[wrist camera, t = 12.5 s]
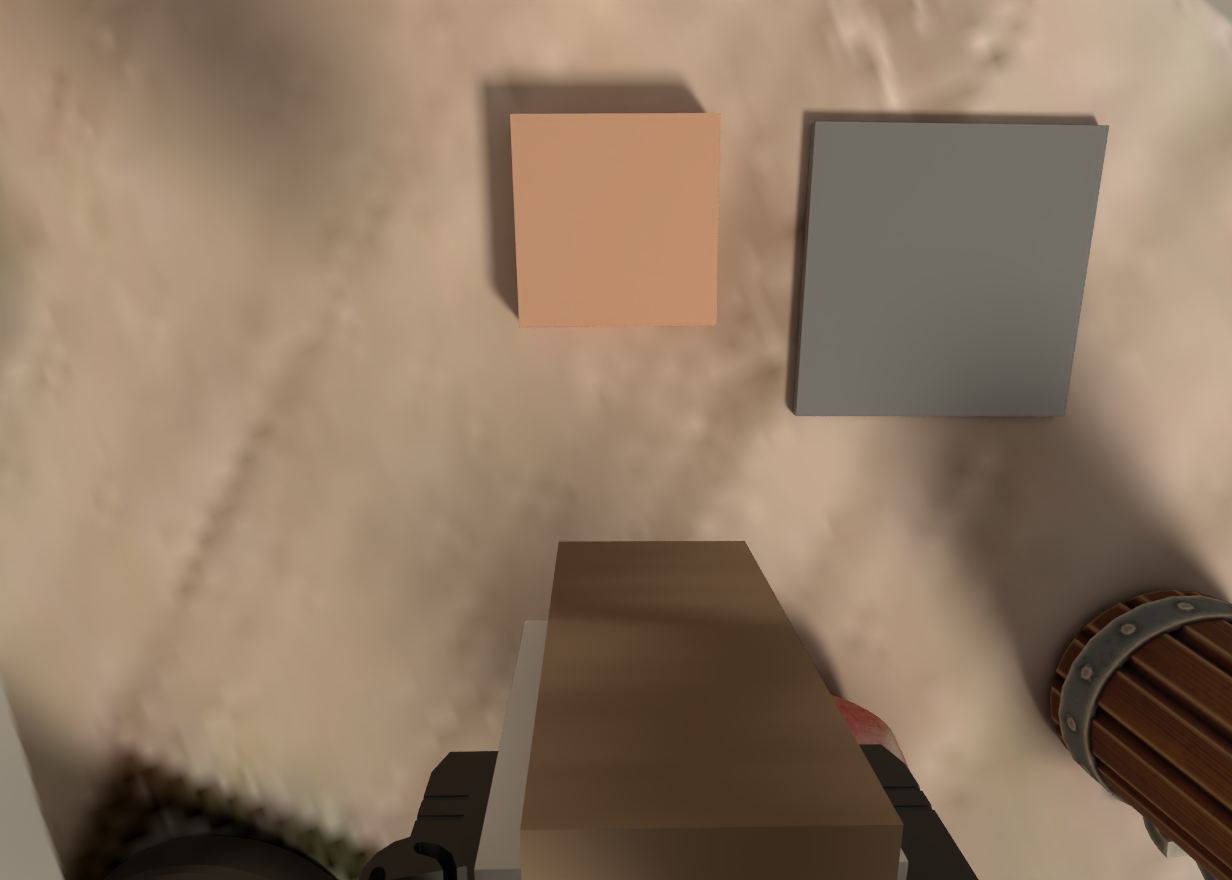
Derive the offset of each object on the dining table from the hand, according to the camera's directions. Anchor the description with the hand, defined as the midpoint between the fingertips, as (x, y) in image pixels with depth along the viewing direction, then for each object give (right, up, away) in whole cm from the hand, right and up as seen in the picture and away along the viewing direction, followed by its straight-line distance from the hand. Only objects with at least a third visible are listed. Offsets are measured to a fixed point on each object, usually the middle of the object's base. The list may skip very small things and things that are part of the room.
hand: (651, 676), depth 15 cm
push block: (0, 0, 0) cm, 0 cm away
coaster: (+13, +12, +15) cm, 23 cm away
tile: (-1, +10, +14) cm, 17 cm away
